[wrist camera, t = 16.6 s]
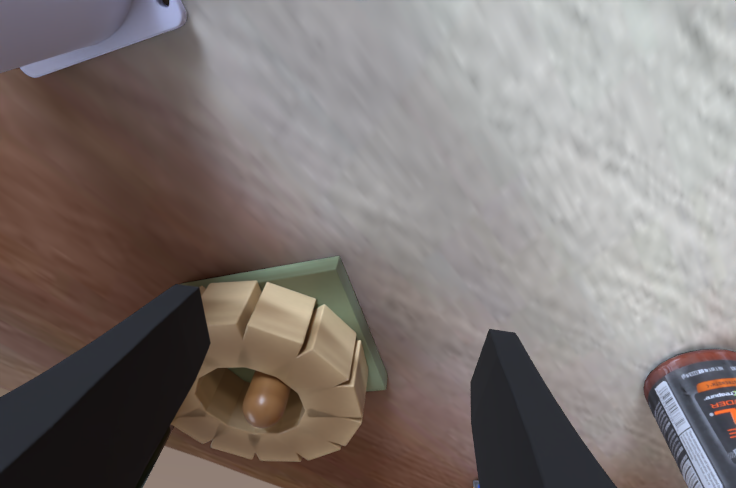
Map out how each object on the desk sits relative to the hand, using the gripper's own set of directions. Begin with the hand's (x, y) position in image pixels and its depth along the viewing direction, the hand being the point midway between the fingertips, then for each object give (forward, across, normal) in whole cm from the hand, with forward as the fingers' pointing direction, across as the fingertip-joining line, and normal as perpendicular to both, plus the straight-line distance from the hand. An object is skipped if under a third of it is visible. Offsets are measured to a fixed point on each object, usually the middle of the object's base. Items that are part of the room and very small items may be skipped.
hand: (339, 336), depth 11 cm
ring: (+9, +6, +13) cm, 17 cm away
